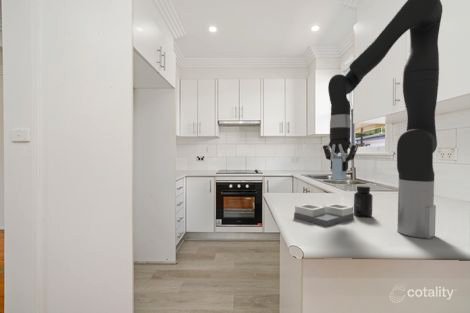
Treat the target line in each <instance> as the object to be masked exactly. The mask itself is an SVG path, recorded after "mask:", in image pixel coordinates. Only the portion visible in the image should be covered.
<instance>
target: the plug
mask: <svg viewBox="0 0 470 313" xmlns="http://www.w3.org/2000/svg"><path fill="white" fill-rule="evenodd" d="M342 163H343V159H342V156H341V155H338V156H335V158H332V169H331V179H332V180H340V181H341V180H347V171H342Z"/></svg>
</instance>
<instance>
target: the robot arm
mask: <svg viewBox="0 0 470 313" xmlns="http://www.w3.org/2000/svg"><path fill="white" fill-rule="evenodd" d="M442 17H443V4H442V2H441V0H406V1H405V3H404V4H403V5H402V6H401V8H400V9H399V10H398V11H397V12H396V14H395V15H394V16H393V18H392V19H391V20H390V21H389V22H388V24H386V25H385V27H384V28H383V30H382V31H381V32H380V33H379V34H378V35H377V37H376V38H375V39H374V40H373V41H372V42H371V43H370V44H369V45H368V46H367V48H365V49H364V50H363V51H362V52H361V53H360V54H359V55H358V56H356V58H354V60H352V62H351V63H350V64H349V70H348V72H347V73H346V74H345V75H344V74H341V73H340V74H339V73H337V74H334V75H333V76H332V77H331V78H330V80H329V81H328V86H327V90H328V96H329V102H330V118H329V119H330V121H329V143H328V144H325V145H323V146H322V150H323V152H324V156H325V159H326V160H329V162H330V170H332V158H335V156H339V154H340V156H342V159H343V163H342V171H346V172H347V171H348V169H349V162H350V161H353V160H354V159H355V156H356V154H357V151H358V148H359V146H358V145H357V144H352V142H351V134H352V133H351V130H352V129H351V128H352V120H351V103H350V100H349V99H348V98H347V97H348V95H349V94H351V93H352V92H353V91H354V90H355V89H356V88H357V87H358V85H359V84H360V83H361V81H362V80H363V79H364V77H366V76H367V74H369V73H370V72H372V71H373V70H374V68H376V67H377V66H378V65H379V64H380V63H381V62H382V60H384V58H385V57H386V56H387V54H388V53H389V52H390V50H391V49H392V48H393V46H394V45H395V44H396V42H397V41H398V40H399V39H400V38H401V37H402V36H403V35H404V34H405V33H406V32H407V31H409V37H410V38H409V39H410V42H409V43H410V46H409V50H408V54H407V57H406V60H405V62H404V63H405V64H404V67H403V73H402V95H403V99H404V105H405V109H406V113H407V124H406V131H404V132H403V133H402V134H401V135H400V136H399V138H398V139H397V144H396V170H397V173H398V189H397V190H398V192H397V196H398V197H397V223H396V224H397V225H396V226H397V232H398V233H400V234H402V235H405V236H409V237H414V238H422V239H427V240H430V239H431V238H433V237H434V236H436V216H437V215H436V214H437V212H436V211H437V209H436V208H437V206H436V204H434V203H435V172H434V163H433V162H434V161H433V160H434V158H433V157H434V156H433V154H434V152H435V151H436V150H437V146H438V141H437V140H438V139H437V138H438V137H437V131H436V130H437V129H436V109H437V101H438V91H439V83H440V82H439V81H440V79H439V78H440V76H439V75H440V54H439V34H440V27H441V20H442ZM349 149H350V150H349ZM348 151H349V152H348Z"/></svg>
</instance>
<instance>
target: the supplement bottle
mask: <svg viewBox="0 0 470 313" xmlns="http://www.w3.org/2000/svg"><path fill="white" fill-rule="evenodd" d="M353 213H354V216H356V217H361V218H371V217H372V216H373V194H372V193H371V187H370V186H367V185H357V186H356V192H355V193H354V195H353Z"/></svg>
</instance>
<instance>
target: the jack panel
mask: <svg viewBox="0 0 470 313" xmlns="http://www.w3.org/2000/svg"><path fill="white" fill-rule="evenodd" d="M354 216H355V215H354V206H350V205H349V206H348V205H344V204H340V203H331V204H325V205H323V206H320V205H315V204H310V203H305V204H300V205H294V213H293V217H294V219H297V220H302V221H305V222H309V223H313V224H316V225H320V226H323V227H329V226H333V225H335V224H339V223H342V222H346V221H350V220H352V219H354V218H355V217H354Z"/></svg>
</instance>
